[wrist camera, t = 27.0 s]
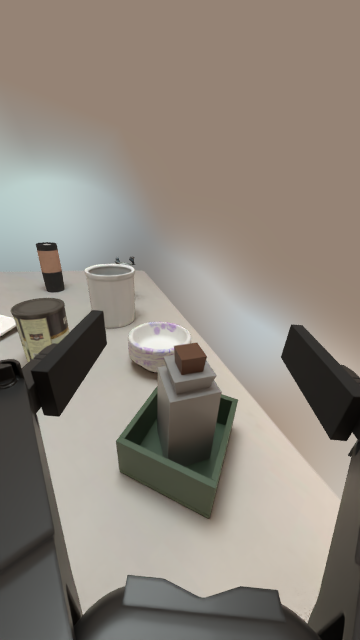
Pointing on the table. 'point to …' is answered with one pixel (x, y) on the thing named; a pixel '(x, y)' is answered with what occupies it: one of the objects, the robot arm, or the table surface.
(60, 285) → the travel mug
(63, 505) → the table surface
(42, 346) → the coffee can
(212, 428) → the perfume bottle
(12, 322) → the plate
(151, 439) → the tote
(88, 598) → the table surface
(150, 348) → the paper bowls
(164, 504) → the table surface
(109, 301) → the utensil holder
